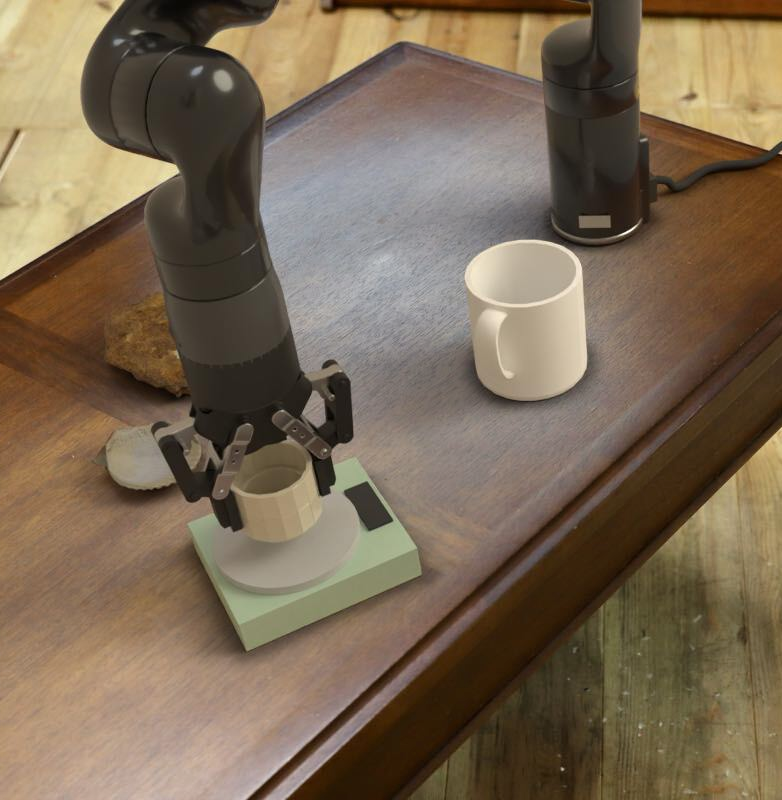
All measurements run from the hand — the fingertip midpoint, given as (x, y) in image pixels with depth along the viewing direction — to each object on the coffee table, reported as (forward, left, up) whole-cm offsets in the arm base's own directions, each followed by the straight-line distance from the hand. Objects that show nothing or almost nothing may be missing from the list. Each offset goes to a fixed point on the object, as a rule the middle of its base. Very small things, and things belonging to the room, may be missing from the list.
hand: (278, 505), depth 102 cm
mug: (-26, -11, -7) cm, 29 cm away
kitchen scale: (-1, 0, -7) cm, 7 cm away
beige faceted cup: (0, 0, -1) cm, 1 cm away
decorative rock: (0, -31, -7) cm, 32 cm away
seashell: (+6, -17, -7) cm, 19 cm away
